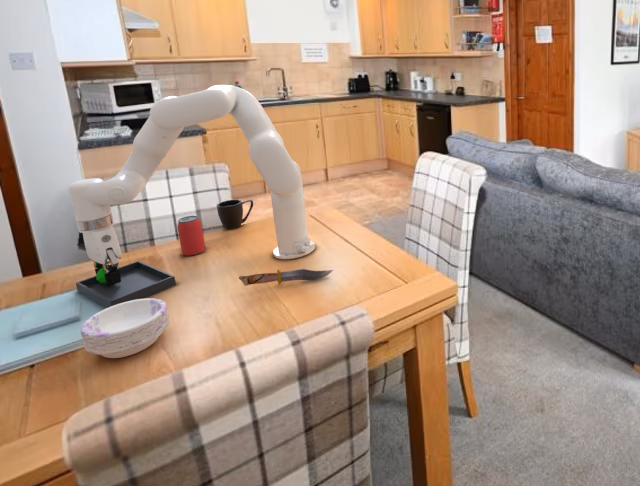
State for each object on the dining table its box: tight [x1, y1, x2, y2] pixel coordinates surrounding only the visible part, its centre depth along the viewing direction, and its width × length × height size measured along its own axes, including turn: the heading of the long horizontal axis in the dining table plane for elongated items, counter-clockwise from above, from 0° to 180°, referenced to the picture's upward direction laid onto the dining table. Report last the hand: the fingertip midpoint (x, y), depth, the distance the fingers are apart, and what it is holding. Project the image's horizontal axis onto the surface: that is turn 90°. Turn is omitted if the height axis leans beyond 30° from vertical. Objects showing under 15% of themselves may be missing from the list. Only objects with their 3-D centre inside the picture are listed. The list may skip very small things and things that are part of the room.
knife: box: [238, 268, 334, 287], centre depth 132 cm, size 25×1×5 cm, turn 108°
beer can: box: [176, 215, 206, 257], centre depth 154 cm, size 7×7×12 cm
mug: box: [216, 199, 254, 230], centre depth 176 cm, size 8×12×10 cm
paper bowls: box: [80, 297, 170, 359], centre depth 106 cm, size 15×15×8 cm
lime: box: [95, 266, 108, 284], centre depth 133 cm, size 5×5×5 cm
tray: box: [75, 260, 177, 309], centre depth 132 cm, size 21×15×3 cm
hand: (109, 281), depth 133 cm, fingers closed on lime, 5 cm apart
